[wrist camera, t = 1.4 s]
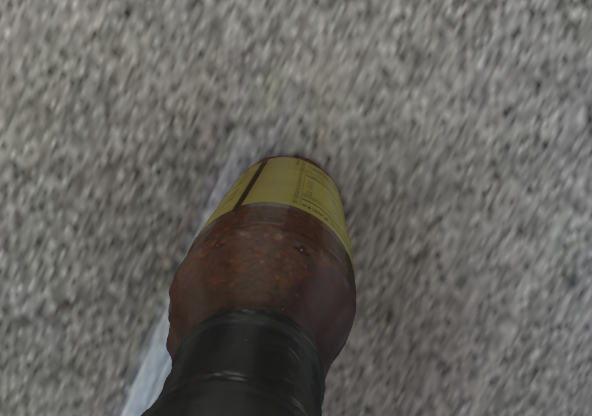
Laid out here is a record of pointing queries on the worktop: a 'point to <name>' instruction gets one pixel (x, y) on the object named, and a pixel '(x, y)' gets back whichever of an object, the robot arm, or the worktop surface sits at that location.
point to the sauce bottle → (261, 298)
